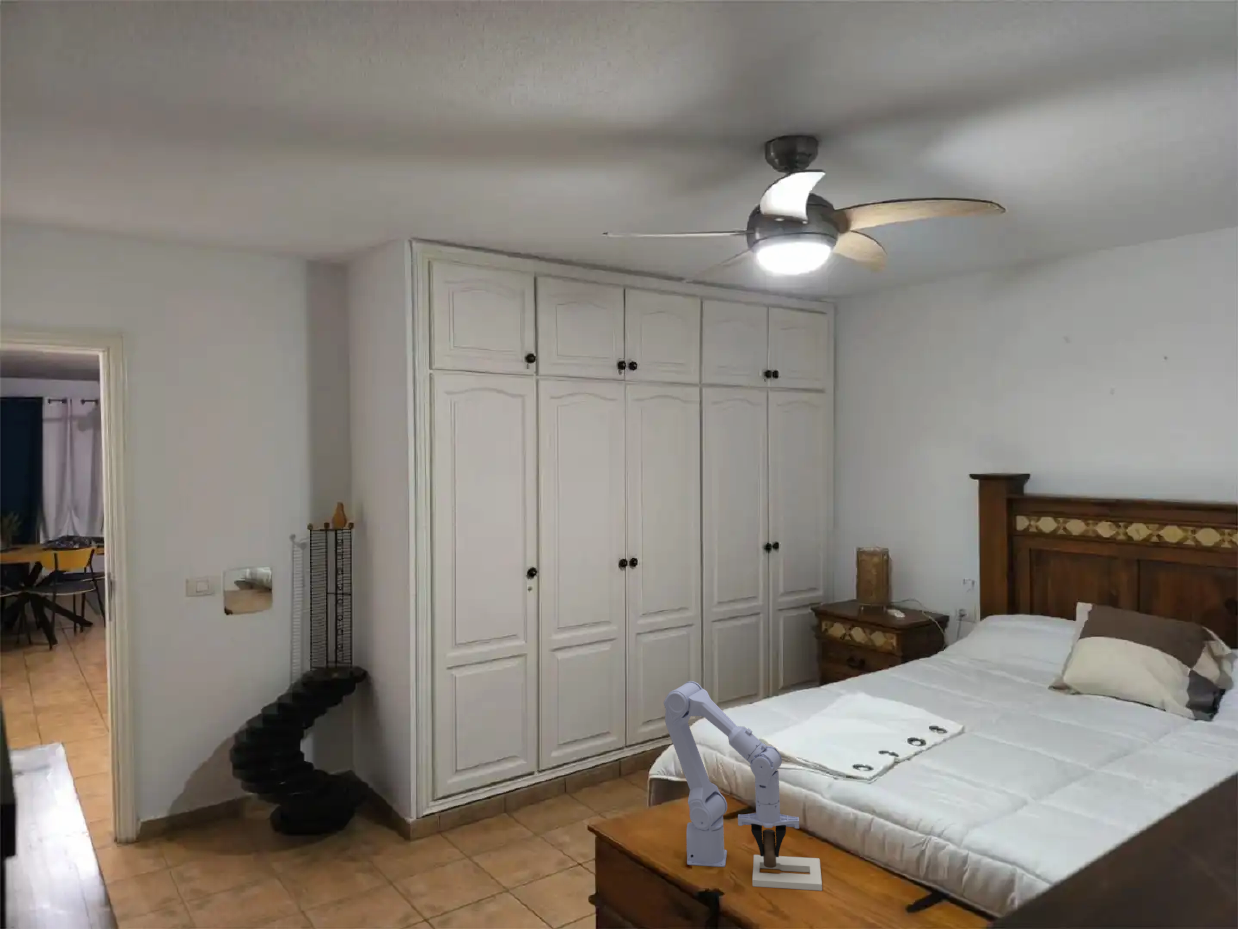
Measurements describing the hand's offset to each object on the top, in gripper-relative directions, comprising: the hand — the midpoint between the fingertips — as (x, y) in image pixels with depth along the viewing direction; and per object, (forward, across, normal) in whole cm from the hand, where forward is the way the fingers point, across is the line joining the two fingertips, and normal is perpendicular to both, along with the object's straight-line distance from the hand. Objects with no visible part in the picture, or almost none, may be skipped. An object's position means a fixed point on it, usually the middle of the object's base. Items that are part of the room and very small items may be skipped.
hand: (769, 855), depth 203 cm
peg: (+2, 0, 0) cm, 2 cm away
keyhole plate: (+5, +4, 0) cm, 6 cm away
